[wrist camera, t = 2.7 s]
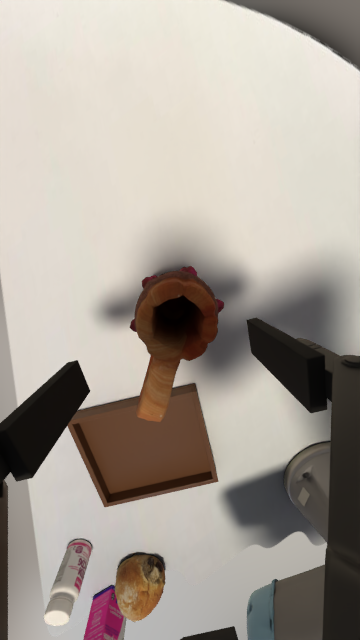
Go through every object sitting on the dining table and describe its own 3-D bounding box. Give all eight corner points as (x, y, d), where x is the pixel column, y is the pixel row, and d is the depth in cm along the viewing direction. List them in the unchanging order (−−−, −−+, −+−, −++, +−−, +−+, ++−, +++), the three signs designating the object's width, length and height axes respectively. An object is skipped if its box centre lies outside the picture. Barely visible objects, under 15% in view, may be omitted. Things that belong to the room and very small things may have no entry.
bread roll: (122, 534, 44) (96, 589, 37) (160, 550, 39) (138, 616, 32) (138, 561, 46) (116, 618, 39) (175, 579, 42) (158, 647, 35)
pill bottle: (97, 545, 39) (77, 617, 31) (83, 557, 40) (60, 631, 32) (77, 534, 38) (52, 606, 30) (63, 548, 39) (34, 621, 31)
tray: (194, 383, 31) (196, 391, 29) (215, 469, 36) (218, 481, 34) (72, 412, 32) (65, 421, 30) (108, 494, 36) (104, 507, 34)
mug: (156, 258, 26) (139, 241, 12) (212, 277, 27) (258, 283, 13) (129, 353, 30) (89, 432, 15) (180, 367, 31) (187, 454, 16)
